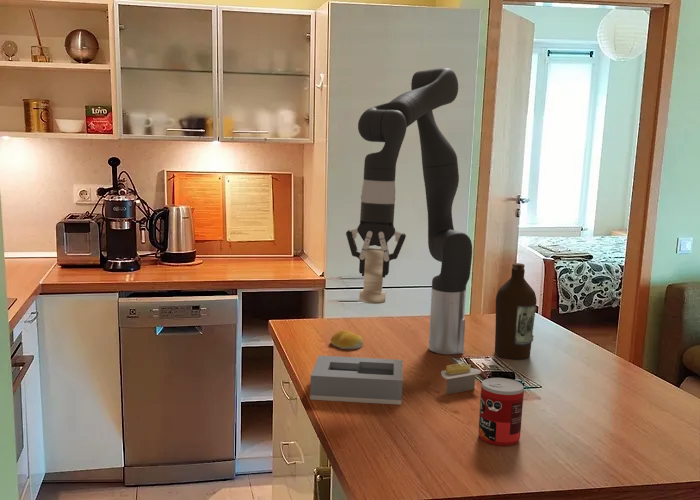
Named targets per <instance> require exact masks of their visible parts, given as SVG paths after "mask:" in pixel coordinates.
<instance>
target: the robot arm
mask: <svg viewBox="0 0 700 500" xmlns="http://www.w3.org/2000/svg"><path fill="white" fill-rule="evenodd" d="M458 81H459V80H458V77H457V75H456V73H455V71H454V70H452V68H449V67H438V68H432V69H424V70H419V71H416V72H415V73H414V74H413V75H412V78H411V83H410V85H411V88H410V89H411V90H408V91H406V92H404V93H401V94H400V95H398V96H396V97H395V98H393V99H392V100H391V101H389V102H385V103H382V104H379V105H375V106H373V107H369V108H367V109H366V110H365V111H364V112H363V113H362V114H361V115H360V117H359V119H358V122H357V130H358V133H359V135H360V136H361V138H362V139H363V140H365V141H368V142H372V143H384V145H383V147H382V149H380V151H377V152H371V153H368V154H366V156H365V158H364V164H363V165H364V167H363V180H362V182H363V183H362V186H361V195H360V214H359V216H360V217H359V225H358V226H357V228H354V229H348V230H347V231H346V233H345V235H346V239H347V241H348V246H349V250H350V252H351V256H352V257H356V258H357V259H358V260H359V265H358V267H359V268H358V271H359V274H361V277H364V270H365V253H366V249H368V248H369V247H373V246H375V247H379V248H381V249H382V251H384V255H383V258H384V261H383V272H382V278H383V279H385V278H386V276H388V274H389V272H390V261H392V260H397V259H398V256H399V255H400V252H401V249H402V247H403V244H404V243H405V240H406V237H407V235H406V233H404V232H402V233H401V232H399V231H396V228H395V226H394V224H395V223H394V222H395V221H394V220H395V205H396V204H395V203H396V174H397V173H396V171H397V169H396V168H397V162H398V158H399V154H400V151H401V148H402V145H403V142H404V139H405V136H406V133H407V128H408V127H409V126H411V125H412V124H413V123H415V122H416V123H417V129H418V135H419V143H420V152H421V153H420V154H421V155H420V156H421V165H422V174H423V182H424V188H425V190H424V192H425V199H426V209H427V210H426V211H427V243H428V245H427V246H428V251H429V254H430V255H431V257H432V258H433V259H434V260H436V261H437V262H440V263H441V265H440V266H441V267H440V273H439V274H438V275H435V276H433V277H432V281H431V293H430V295H431V296H430V297H431V298H430V314H429V315H430V317H429V336H428V338H429V339H428V350H430V352H433V353H436V354H440V355H457V354H464V349H465V347H464V346H465V332H466V331H465V330H466V318H465V313H466V296H467V295H466V294H467V284H468V282H469V280H470V276H471V270H472V269H471V268H472V260H473V244H472V239H470V236H468V234H466V233H465V232H462V231H459V230H455V229H454V222H453V221H454V220H453V211H452V210H453V205H454V203H453V202H454V200H455V196H456V193H457V191H458V188H459V183H460V182H459V181H460V173H459V165H458V156H457V153H456V151H455V149H454V147H452V145H451V144H450V142H449V141H448V140H447V138H446V137H445V135H444V134H443V133H442V131H441V130H440V128H439V127H438V124H437V122H436V120H435V116H434V113H433V111H435V109H438V108H440V107H442V106H446V105H449V104H452V103H453V102H454V101H455V100H456V98H457V97H458V92H459V82H458ZM357 235H359V236H360V237H361V239H362V241H363V245H362V248H361V250H360V251H359V249H358V247H357V243H356V240H355V239H356V238H357ZM393 237H395V238H394V239H395V240H394V241H395V242H397V243H396V245H395V248H394V250H393V252H392V253H390V252H389V246H388V242H390V240H391V239H392V238H393Z"/></svg>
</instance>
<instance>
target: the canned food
mask: <svg viewBox="0 0 700 500" xmlns="http://www.w3.org/2000/svg"><path fill="white" fill-rule="evenodd" d="M524 387H525V386H524V385H523V384H522V383H521V382H519V381H517V380H514V379H512V378H505V377H490V378H486V379H484V380H482V381H481V386H480V399H479V400H480V401H479V416H478V435H479V437H480V439H481V440H482V441H483V442H485V443H487V444H490V445H493V446H497V447H498V446H499V447H511V446H514V445H516V444H517V443H518V442H519V441H520V440H521V439H520V438H521V432H522V431H521V430H522V418H523V417H522V416H523V407H524V406H523V405H524V394H525V393H524V389H525V388H524Z"/></svg>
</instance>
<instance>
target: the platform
mask: <svg viewBox="0 0 700 500" xmlns="http://www.w3.org/2000/svg"><path fill="white" fill-rule="evenodd" d="M481 373H482V370H480V369H479V368H473V367H471V364H466V362H460V363H455V364H449V365H446V369H444V370H441V373H440V374H441V377H442V378H443V379H445V380H446V391H445V392H446V395H450V394H456V393H462V392H467V391H471V390H475V385H476V384H475V383H476V375H479V374H481Z"/></svg>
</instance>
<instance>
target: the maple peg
mask: <svg viewBox="0 0 700 500" xmlns="http://www.w3.org/2000/svg"><path fill="white" fill-rule="evenodd" d="M383 255H384V251H382V249H381V247H376V246H375V247H373V246H369V248H368V249H366V253H365V270H364V276H363V289H360V290H359V292H358V293H359V294H358V295H359V296H358V297H359V298H358V301H359V302H361V303H364V304H370V305H380V304H381V305H382V304H384V303H386V296H387V293H386V292H385V291H383V284H384V283H383V281H384V280H383V279H384V278H382V272H383V261H384V258H383Z"/></svg>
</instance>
